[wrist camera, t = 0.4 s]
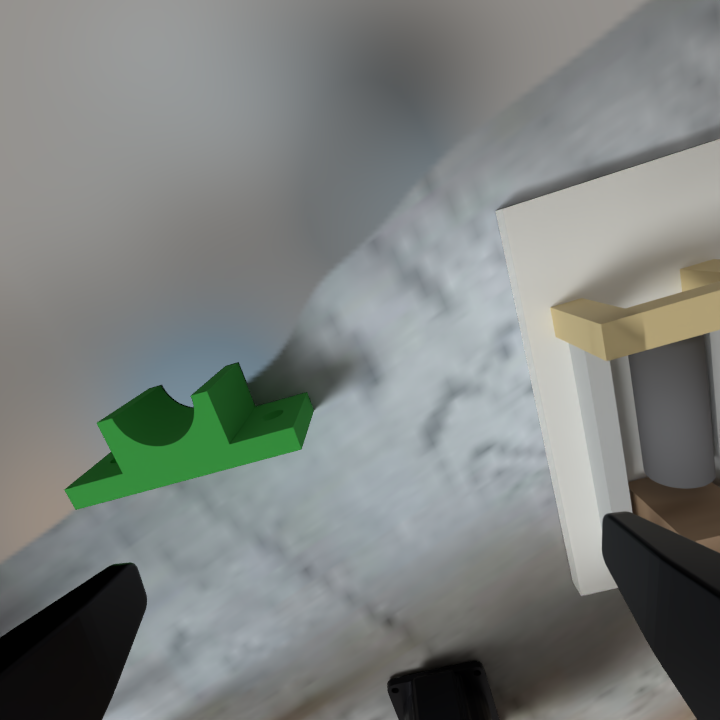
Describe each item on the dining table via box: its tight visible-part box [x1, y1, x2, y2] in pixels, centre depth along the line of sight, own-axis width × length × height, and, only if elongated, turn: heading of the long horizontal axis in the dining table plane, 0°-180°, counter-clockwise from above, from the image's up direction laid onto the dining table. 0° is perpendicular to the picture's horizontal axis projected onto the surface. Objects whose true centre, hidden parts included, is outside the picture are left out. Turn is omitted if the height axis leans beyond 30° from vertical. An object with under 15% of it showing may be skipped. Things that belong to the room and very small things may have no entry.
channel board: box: [496, 139, 720, 596], centre depth 19 cm, size 22×10×5 cm, turn 17°
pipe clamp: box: [65, 362, 314, 510], centre depth 20 cm, size 11×4×5 cm, turn 107°
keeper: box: [628, 477, 720, 553], centre depth 20 cm, size 5×3×4 cm
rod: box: [628, 334, 716, 489], centre depth 19 cm, size 7×3×3 cm, turn 17°
